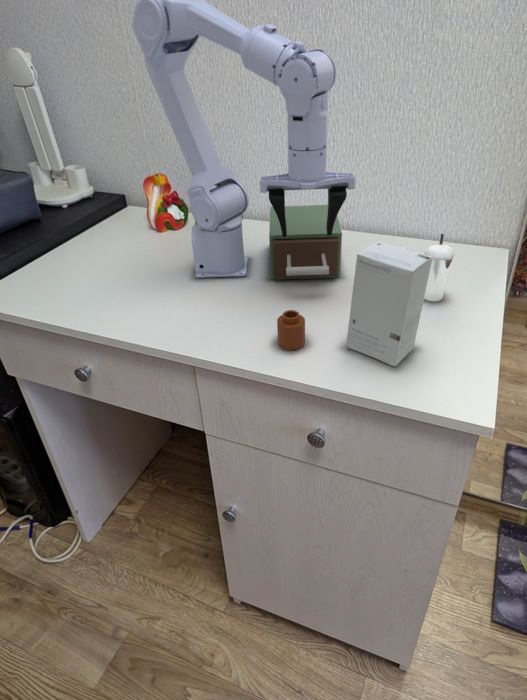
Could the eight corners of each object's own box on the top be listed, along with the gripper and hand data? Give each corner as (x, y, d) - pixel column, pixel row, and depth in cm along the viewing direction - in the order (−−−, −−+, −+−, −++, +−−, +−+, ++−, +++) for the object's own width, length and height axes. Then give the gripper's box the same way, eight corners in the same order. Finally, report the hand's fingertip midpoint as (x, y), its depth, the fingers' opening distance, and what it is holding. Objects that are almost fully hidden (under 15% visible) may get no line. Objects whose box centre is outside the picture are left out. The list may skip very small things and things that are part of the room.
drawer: (341, 294, 83) (343, 257, 79) (273, 296, 84) (272, 259, 80) (330, 245, 99) (332, 213, 96) (274, 247, 100) (273, 215, 96)
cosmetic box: (345, 348, 72) (351, 253, 63) (366, 330, 75) (375, 238, 67) (398, 369, 67) (412, 270, 59) (418, 348, 71) (434, 252, 62)
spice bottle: (278, 351, 72) (276, 322, 69) (278, 335, 75) (277, 307, 72) (305, 350, 72) (305, 321, 69) (304, 335, 75) (304, 306, 72)
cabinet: (339, 277, 90) (342, 232, 85) (271, 279, 90) (269, 235, 86) (332, 245, 102) (334, 204, 97) (271, 247, 102) (270, 206, 97)
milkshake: (447, 290, 84) (457, 234, 79) (445, 305, 80) (456, 248, 74) (419, 287, 86) (428, 232, 80) (416, 301, 82) (425, 245, 76)
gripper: (257, 155, 70) (261, 245, 78) (360, 151, 69) (354, 241, 77) (258, 143, 76) (263, 228, 84) (353, 139, 75) (349, 225, 83)
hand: (306, 233), depth 81 cm, fingers open, 7 cm apart
